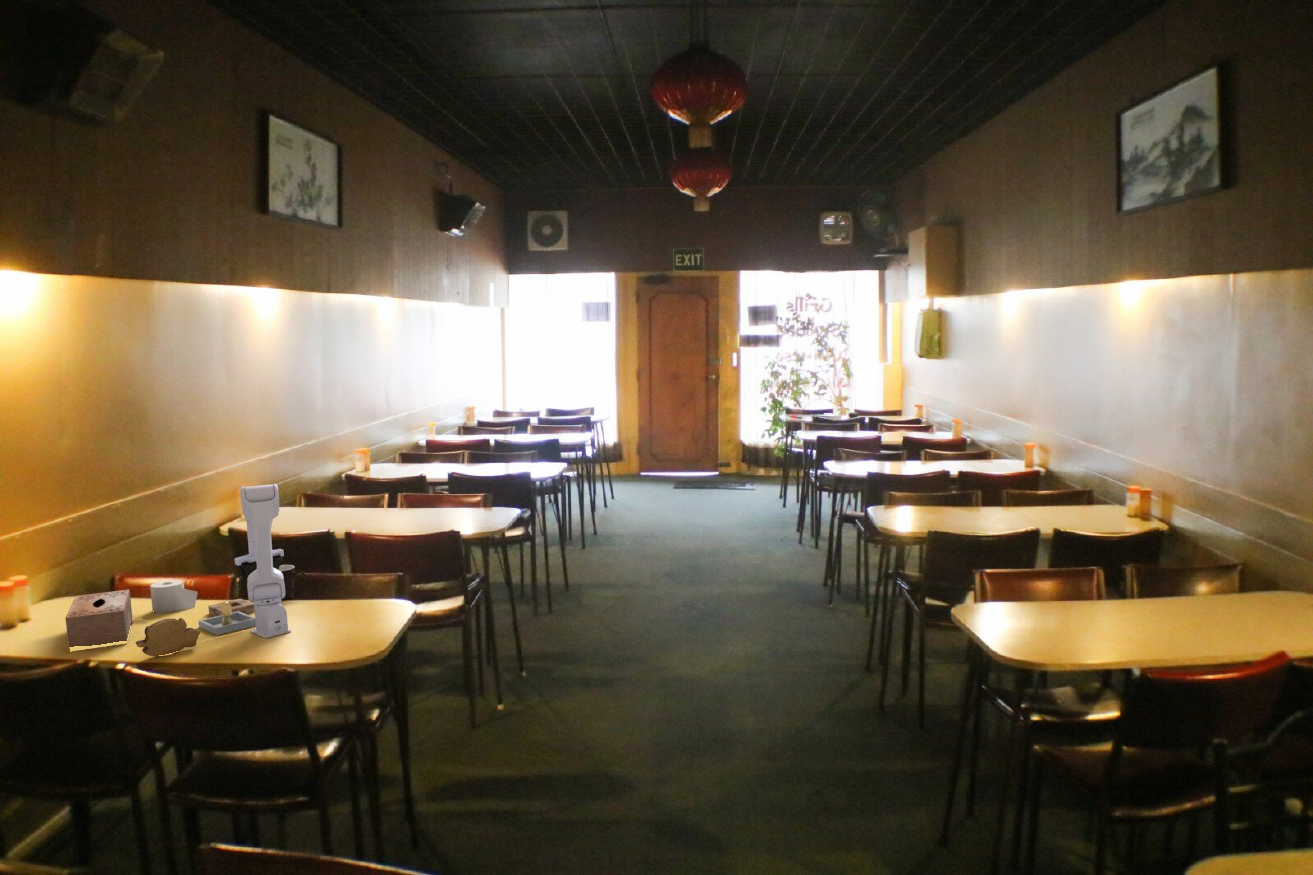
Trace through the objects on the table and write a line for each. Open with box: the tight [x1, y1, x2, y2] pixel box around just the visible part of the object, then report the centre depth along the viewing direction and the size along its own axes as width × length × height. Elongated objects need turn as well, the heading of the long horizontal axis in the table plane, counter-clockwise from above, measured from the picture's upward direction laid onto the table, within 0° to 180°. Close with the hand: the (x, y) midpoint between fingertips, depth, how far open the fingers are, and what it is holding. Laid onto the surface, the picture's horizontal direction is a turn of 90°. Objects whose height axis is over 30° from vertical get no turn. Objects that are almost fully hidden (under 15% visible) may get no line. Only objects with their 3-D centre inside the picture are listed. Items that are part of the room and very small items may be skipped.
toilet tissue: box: [149, 579, 198, 614], centre depth 331 cm, size 9×13×9 cm
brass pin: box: [219, 600, 233, 626], centre depth 309 cm, size 3×3×7 cm
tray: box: [198, 611, 256, 637], centre depth 309 cm, size 12×12×2 cm
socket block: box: [207, 598, 255, 617], centre depth 323 cm, size 10×10×3 cm
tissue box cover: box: [65, 588, 133, 648], centre depth 306 cm, size 26×14×10 cm, turn 23°
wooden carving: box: [135, 617, 201, 657], centre depth 286 cm, size 16×5×10 cm, turn 139°
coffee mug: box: [279, 564, 307, 601], centre depth 338 cm, size 12×9×10 cm
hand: (261, 583), depth 319 cm, fingers open, 7 cm apart
